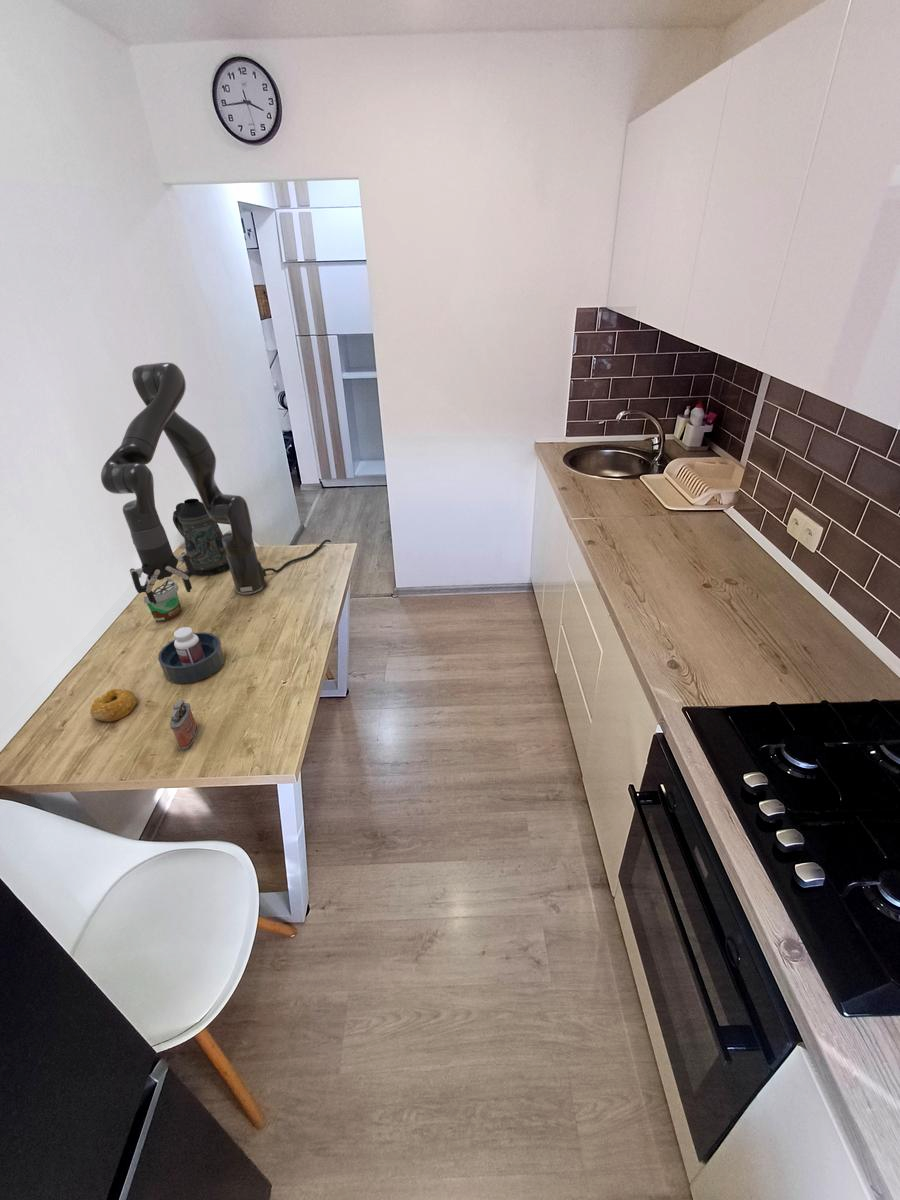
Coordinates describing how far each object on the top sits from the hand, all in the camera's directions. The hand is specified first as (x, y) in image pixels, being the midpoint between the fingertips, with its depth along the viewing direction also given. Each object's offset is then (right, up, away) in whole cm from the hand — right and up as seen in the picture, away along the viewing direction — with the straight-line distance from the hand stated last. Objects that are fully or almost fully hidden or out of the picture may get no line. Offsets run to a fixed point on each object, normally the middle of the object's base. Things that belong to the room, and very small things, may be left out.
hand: (171, 596), depth 150 cm
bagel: (-11, -29, -5) cm, 31 cm away
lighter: (+11, -34, -15) cm, 39 cm away
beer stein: (-15, +11, +59) cm, 62 cm away
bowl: (+3, -19, +8) cm, 21 cm away
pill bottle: (+3, -19, +8) cm, 21 cm away
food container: (-15, -6, +31) cm, 35 cm away
